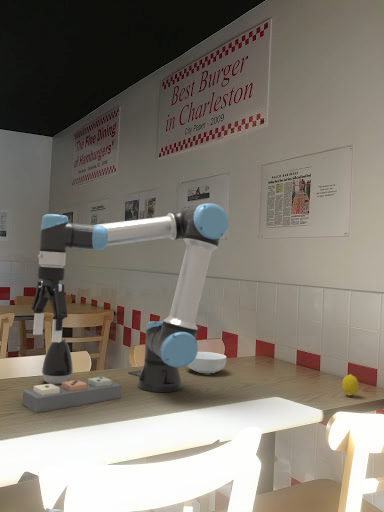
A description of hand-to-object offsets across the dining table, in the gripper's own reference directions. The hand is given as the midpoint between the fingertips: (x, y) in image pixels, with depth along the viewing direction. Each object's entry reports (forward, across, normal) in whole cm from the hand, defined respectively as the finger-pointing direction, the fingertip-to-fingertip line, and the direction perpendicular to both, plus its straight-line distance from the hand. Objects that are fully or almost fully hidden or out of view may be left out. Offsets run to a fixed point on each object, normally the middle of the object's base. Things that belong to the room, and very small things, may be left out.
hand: (46, 338), depth 143 cm
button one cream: (+16, +2, 0) cm, 17 cm away
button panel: (+19, +2, +9) cm, 21 cm away
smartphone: (+20, -20, +51) cm, 58 cm away
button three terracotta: (+16, +2, +9) cm, 19 cm away
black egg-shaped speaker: (+20, -20, +14) cm, 31 cm away
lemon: (+19, +42, +96) cm, 106 cm away
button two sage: (+16, +1, +18) cm, 24 cm away
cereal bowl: (+19, -10, +73) cm, 76 cm away
